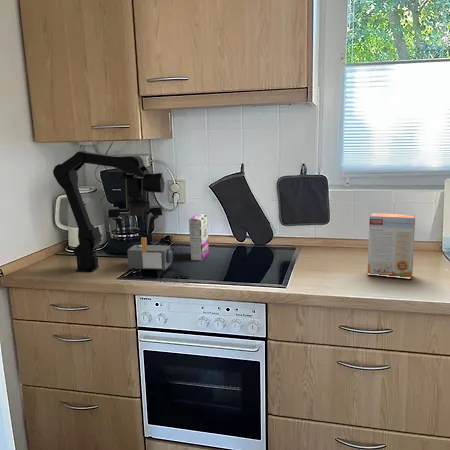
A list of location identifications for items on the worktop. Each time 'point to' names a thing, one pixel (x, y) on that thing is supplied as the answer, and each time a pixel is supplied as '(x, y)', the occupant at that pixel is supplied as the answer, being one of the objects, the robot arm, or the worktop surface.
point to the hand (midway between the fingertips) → (135, 235)
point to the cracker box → (391, 244)
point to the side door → (150, 256)
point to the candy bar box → (199, 237)
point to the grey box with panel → (136, 251)
